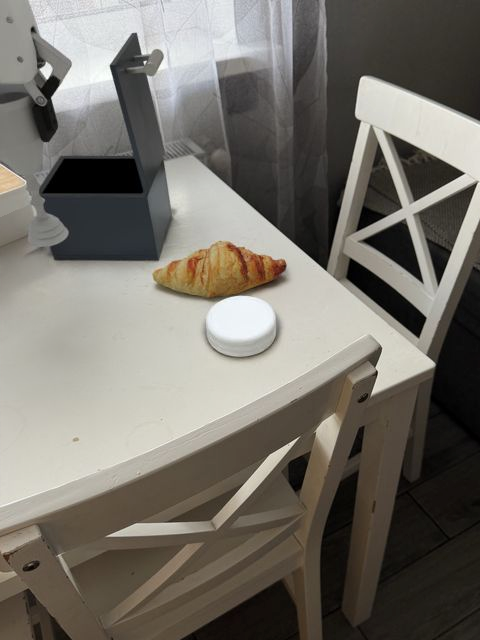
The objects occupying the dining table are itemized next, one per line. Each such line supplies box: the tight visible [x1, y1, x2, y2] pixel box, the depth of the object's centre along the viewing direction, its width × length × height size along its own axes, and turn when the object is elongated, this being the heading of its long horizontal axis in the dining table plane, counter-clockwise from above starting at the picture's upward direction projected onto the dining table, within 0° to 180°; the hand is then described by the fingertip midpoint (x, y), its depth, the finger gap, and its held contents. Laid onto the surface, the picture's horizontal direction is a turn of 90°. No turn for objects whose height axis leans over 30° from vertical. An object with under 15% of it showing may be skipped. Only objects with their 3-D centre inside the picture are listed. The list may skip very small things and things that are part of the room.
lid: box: [109, 32, 166, 194], centre depth 90 cm, size 19×14×5 cm
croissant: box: [152, 240, 288, 299], centre depth 93 cm, size 21×10×8 cm, turn 95°
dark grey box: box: [39, 155, 173, 262], centre depth 101 cm, size 18×14×12 cm
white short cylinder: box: [205, 295, 277, 358], centre depth 85 cm, size 10×10×4 cm
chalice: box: [0, 84, 68, 248], centre depth 69 cm, size 7×7×18 cm
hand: (16, 135), depth 67 cm, fingers closed on chalice, 6 cm apart
